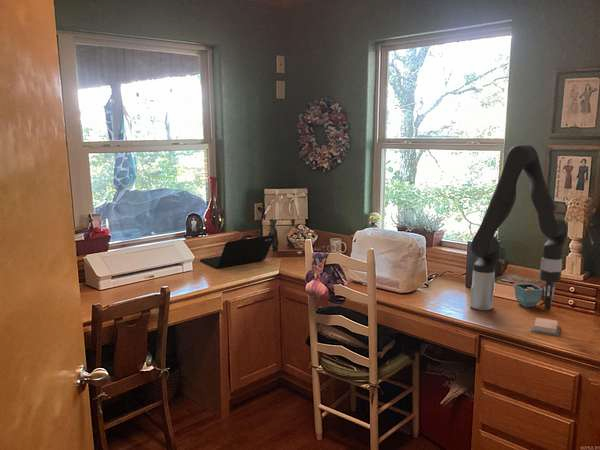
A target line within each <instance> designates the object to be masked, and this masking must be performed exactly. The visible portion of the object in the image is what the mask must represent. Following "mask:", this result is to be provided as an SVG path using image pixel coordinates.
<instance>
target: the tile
mask: <svg viewBox="0 0 600 450" xmlns="http://www.w3.org/2000/svg"><path fill="white" fill-rule="evenodd" d="M534 322H535V324H534V330H535V331H541V332H547V333H553V334H556V332H557V326H558V320H555V319H549V318H548V319H547V318H541V317H535V320H534Z"/></svg>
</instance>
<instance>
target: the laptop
mask: <svg viewBox="0 0 600 450" xmlns="http://www.w3.org/2000/svg"><path fill="white" fill-rule="evenodd" d="M275 237H276V234H269V235H264V236H262V235H261V236H257V237H256V236H255V237H249V238H242V239H236V240H229V241H226V243H225V244H224V247H223V249H222V252H221V255H218V256H212V257H205V258H200V259H199V261H200V262H202V263H204V264H206V265H207V266H209V267H212V268H214V269H216V270H219V269H224V268H230V267H236V266H240V265H241V266H242V265H245V264H250V263H251V264H253V263H257V262H263V261H264V260H266V258H267V256H268V253H269V252H270V250H271V246H272V245H273V242H274V240H275Z"/></svg>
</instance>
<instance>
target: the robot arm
mask: <svg viewBox="0 0 600 450" xmlns="http://www.w3.org/2000/svg"><path fill="white" fill-rule="evenodd" d="M522 171H524V173H525V174H526V177H527V180H528V183H529V194H530V199H531V202H532V204H533V206H534V209H535V211H536V213H537V219H538V225H539V229H540V231H541V233H542V234H543V235H544V237H546V238H547V241H546V242H544V244H543V246H542V247H543V248H542V252H541V253H542V254H541V256H542V257H541V260H540V270H539V271H540V272H539V279H540V280H541V281H543V282H544V284H543V290H544V291H543V296H544V310H545V311H547V312H551V308H552V301H553V298H554V293H555V289H556V284H554V283H559V282H561V279H562V270H563V269H562V268H563V261H562V260H563V248H564V246H565V243H566V242H565V241H566V239H567V236H568V232H569V231H568V230H569V229H568V224H567V223H566V220H564V219H561V218H556V217H555V216H556V215H555V212H556V210H557V208H556V204H555V202H554V200H553V198H552V196H551V193H550V190H549V189H548V188H549V187H548V185H547V183H546V180H545V176H544V173H543V169H542V166H541V163H540V159H539V155H538V151H537V149H536V148H535V147H534V146H532V145H529V144H528V145H527V144H524V145H523V144H521V145H520V144H519V145H514V146H513V147H511V148H510V149H509V150H508V152H507V154H506V157H505V160H504V164H503V168H502V170H501V174H500V177H499V179H498V182H497V185H496V186H495V189H494V191H493V194H492V196H491V198H490V201H489V204H488V207H487V209H486V210H485V214H484V216H483V218H482V221H481V223H480V225H479V228H478V229H477V230H476V233H475V235H474V237H473V238H472V241H471V243H470V249H471V252H472V254H473V256H475V257H477V259H476V261H475V262H474V263H473V265H472V277H471V278H472V281H471V282H472V283H471V287H470V299H469V307H470V308H473V309H475V310H479V311H490V310H492V309H493V307H494V305H493V304H494V303H493V302H494V290H495V289H494V288H495V276H496V275H495V272H496V266H497V265H498V260H499V252H500V251H499V250H500V244H499V240H498V238H497V236H495V234H496V232H497V231H498V229H499V228H500V226H502V224H503V223H504V222H505V221H506V220H507V219H508V217H509V215H510V213H511V212H512V209H513V207H514V205H515V203H516V200H517V199H516V198H517V184H518V181H519V177H520V175H521V173H522Z"/></svg>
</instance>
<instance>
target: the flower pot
mask: <svg viewBox="0 0 600 450" xmlns="http://www.w3.org/2000/svg"><path fill="white" fill-rule="evenodd" d="M527 287H533V288H534V289H535V290H525V288H527ZM543 290H544V288H541V287H539V286H538V285H535V284H533V283H523V284H522V283H520V284H519V283H518V284H514V294H515V299H516V301H517V303H518V304H519V305H520V306H521V307H522V306H523V307H524V308H534V307H536V306H537V305H538V303H540V300H541V298H542V294H543V292H544V291H543Z"/></svg>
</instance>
